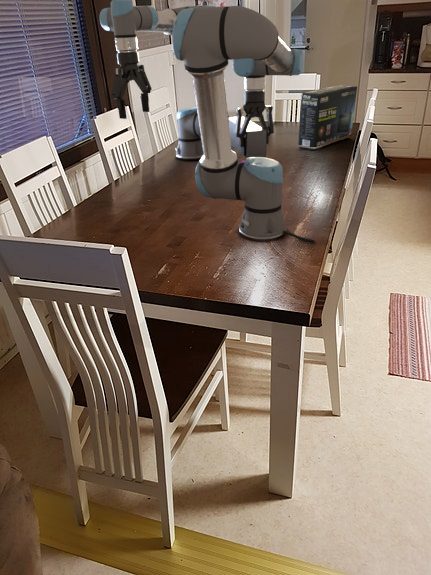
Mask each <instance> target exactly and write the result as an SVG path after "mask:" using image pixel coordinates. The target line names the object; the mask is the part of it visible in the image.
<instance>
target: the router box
mask: <svg viewBox="0 0 431 575" xmlns="http://www.w3.org/2000/svg"><path fill="white" fill-rule="evenodd" d="M357 93H358V86H356V85H350V84H339V85H338V84H337V85H334V86H328V87H324V88H318V89H314V90H309V91H304V92H301V93H300V109H299V110H300V111H299V124H298V137H297V146H298V145H302V146H307V147H317V146H320V145H323V144H325V143H328V142H331V141H333V140H336V139H338V138H341V137H344V136H347V135H351V136H352V133H353V132H352V131H353V125H354V115H355V109H356V99H357ZM311 151H313V150H312V149H311Z"/></svg>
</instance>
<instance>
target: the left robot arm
mask: <svg viewBox="0 0 431 575" xmlns="http://www.w3.org/2000/svg"><path fill="white" fill-rule="evenodd" d="M195 7H217V6H215V5H211V4H210V5H208V4H205V5H192V6H191V5H189V6H181V7H175V8H164V9H163V10H157V9H156V8H155V7H153V6H151V5H134V2H133V0H111V2H110V7H105V8H102V9H101V11H100V13H99V22H100V23H99V24H100V25H101V27H102V29H103V30H104V31H107V32H113V35H114V41H115V42H114V43H115V49H116V51H117V53H116V58H117V64H118V65H120V66H119V68H114V70H113V72H114V76H113V81H112V82H113V83H112V89H111V95H110V96H111V99H113V100H115V101H116V107H117V110H118V116H119V119H121V120H127V119H128V117H127V116H128V115H127V110H126V102H125V99H124V95H125V92H126V90H127V86H128V83H130V82H132V81H134V82H135V84H136V85H137V87H138V88H139V90H140V91H141V93H140V99H141V100H140V101H141V108H142V113H144V112H145V113H150V105H149V103H150V99H149V98H150V97H149V94H151V91H152V88H153V87H152V86H151V84H150V81H149V79H148V76H147V73H146V71H145V66H144V64H140V54H139V52H138V51H137V50H139V44H138V37H137V32H139V33H140V32H142V33H144V32H146V33H163V34H164V35H167V36H172V33H173V27H174V23H175V19H176V17H177V15H178V14H179V12H180V11H182V10H183V9H189V8H195ZM228 117H230V115H229V114H228ZM274 121H275V122H276V123H277V121H276V120H274ZM176 126H177V138H178V143H177V147H174V148H175V149H174V150H175V157H176V159H177V160H179V161H184V162H185V161H186V162H189V161H190V162H192V161H200V158H201V157H202V155H203V154H204V152H203V145H202V139H201V132H200V126H199V119H198V113H197V106H192V107H186V108H182V109H179V110H178V111H177V112H176Z"/></svg>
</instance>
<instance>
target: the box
mask: <svg viewBox="0 0 431 575" xmlns="http://www.w3.org/2000/svg"><path fill="white" fill-rule="evenodd" d="M228 119H229V129H230V138H231V148H234V150H236V151H237V152H238V153H240V154H241V155H242V147H240V145H239V137H236V136H235V135H234V132H235V124H236V116H229V117H228ZM244 119H245V116H243V115H242V118H241V126H240V131H241V128H242V125H243V122H244ZM244 138H246V156H244V157H245V159H247V158H249V157H265V158H267V144H266V129H264V128H262V126H261V125H259V124H257V123H256V122H254V121H252V120H250V122H249V124H248V127H247V130H246V133H245V135H244Z"/></svg>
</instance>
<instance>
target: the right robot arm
mask: <svg viewBox="0 0 431 575" xmlns="http://www.w3.org/2000/svg"><path fill="white" fill-rule="evenodd" d="M171 45H172V52H173V55H174V56H175V58H176V59H177V60H178V61H180V62H183V65H184V70H185V72H187V73H188V74H189V75H191V79H192V85H193V86H192V87H193V93H194V99H195V104H196V105H195V107H197V113H198V119H199V126H200V132H201V139H202V145H203V152H204V154H203V155H202V157H201V158H200V160H198V162H197V165H196V167H195V177H194V178H195V184H196V188H197V190H198V192H199V193H200V195H201V196H204V197H206V198H211V199H215V200H217V199H219V200H233V201H243V202H244V211H243V213H242V216H241V220H240V222H239V226H238V232H239V235H240V236H241V237H242V238H244V239H247V240H250V241H254V242H271V241H277V240H279V239H281V238H283V237H285V235H287V236H289V237H292V238H294V239H298V240H300V241H303V242H307V243H313V244H314V243H315V239H312V238H307V237H302V236H300V235H298V234H295V233H292V232H289V231H287V223H286V221H285V216H284V214H283V210H282V200H283V183H284V177H283V176H284V175H283V173H284V172H283V171H284V170H283V166H282V164H281V163H280V162H279V161H277V160H275V159H272V158H269V157H249V158H245V159H244V161H245V162H241V161H239V159H238V154H237V152H236V151H234V150H233V149H232V148H233V147H232V146H231V138H230V129H229V119H228V115H229V111H228V101H227V100H228V99H227V92H226V82H225V72H224V71H225V70H226V69H227V67H228V66H229V61H232V63H231V65H232V66H231V67H232V70H233V72H234V74H236V75H237V76H239V77H241V78H243V90H244V91H243V105H242V107H236V108H235V115H236V116H235V117H236V124H235V132H234V135H235V136H236V137H239V145H240V147H242V154H241V155H242V156H243V157H245V156H246V138H244V135H245V133H246V130H247V127H248V124H249V122H250V121H252V119H254V118H258V120H259V123H260V127H262V128H264V129H266V145H269V143H270V136H271V135H272V134H274V133H275V129H274V124H273V122H274V119H273V109H274V107H273V106H272V105H271V104H267V105H266V101H265V100H266V91H265V88H266V76H287V77H291V76H299V75H301V74H302V71H303V67H304V52H303V51H302V49H296V48H292V49H291V48H289V47H288V45H287V44H286V43H285V42H284V41H283V40H282V39H281V38H280V36H279V31H278V28H277V26H276V25H275V24H274V22H273V21H271V20H270V19H269V18H268V17H267V16H265V15H263V13H260V12H258V11H256V10H254V9H251V8H248V7H245V6H241V5H230V6H226V5H225V6H216V7H195V8H189V9H183V10H182V11H180V12H179V14H178V15H177V17H176V19H175V23H174V27H173V33H172V35H171ZM264 111H265V112H266V120H267V123H266V121H265V117H264ZM244 113H245V116H244V117H245V119H244V122H243V125H242V128H241V131H240V126H241V118H242V116H243V114H244ZM267 126H268V128H267Z"/></svg>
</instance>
